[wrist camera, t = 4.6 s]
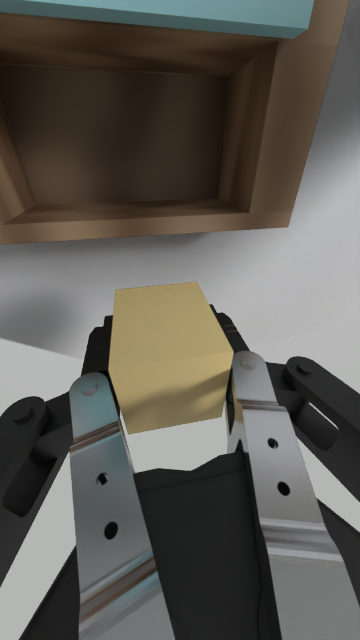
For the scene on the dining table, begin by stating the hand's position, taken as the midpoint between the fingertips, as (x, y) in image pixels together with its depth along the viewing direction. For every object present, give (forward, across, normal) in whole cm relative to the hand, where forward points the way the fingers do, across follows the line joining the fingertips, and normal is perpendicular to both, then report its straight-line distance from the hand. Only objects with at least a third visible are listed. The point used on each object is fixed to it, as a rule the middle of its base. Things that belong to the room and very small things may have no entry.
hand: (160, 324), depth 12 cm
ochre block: (+1, 0, 0) cm, 1 cm away
